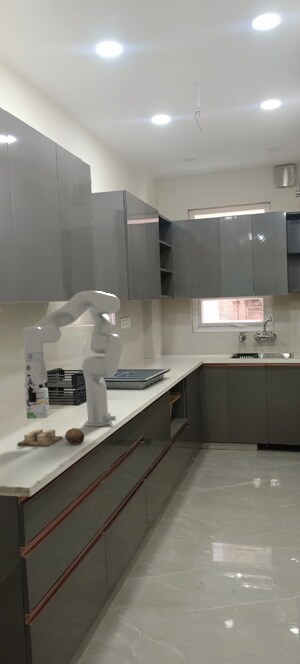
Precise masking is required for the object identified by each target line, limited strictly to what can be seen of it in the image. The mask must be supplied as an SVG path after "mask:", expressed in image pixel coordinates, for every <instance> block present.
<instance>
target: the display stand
mask: <svg viewBox="0 0 300 664" xmlns="http://www.w3.org/2000/svg"><path fill="white" fill-rule="evenodd" d="M23 437H24V439H22V440H20V441H18V442H17V446H19V447H20V446H22V447H43V448H44V447H47V448H48V447H50V446H52V445H54V444H56V443H57V442H59V441H61V440H63V436H60V435H59V436H58V435H56V430H55V429H49V430H46V431H44V432H43V429H42V428H40V429H35V430H33V431H30V432H29V433H26V434H24V435H23Z"/></svg>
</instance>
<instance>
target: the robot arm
mask: <svg viewBox="0 0 300 664" xmlns="http://www.w3.org/2000/svg"><path fill="white" fill-rule="evenodd" d="M120 308H121V301H120V299H119V298H118V296H116V295H114V294H111V293H106V292H103V291H98V290H84V291H79V292H78V293H76V294H75V295H73V296H72V297H70V299H69V300H68V301H67V302H66V303H65V304H63V306H61V307H59V309H56V310H54V311H53V312H51V313H49V314H47V315H46V316H44V317H42V318H41V319H39V321H37V322H36V323H35V324H34V325H32V326H28V327H24V328H23V329H22V330H23V331H22V333H23V336H22V337H23V346H24V347H23V349H24V363H25V364H24V379H25V382H24V387H25V388H26V389H25V390H27V392H28V395H29V402H36V392H35V388H46V385H47V382H48V373H47V370H48V369H47V365H46V361H45V357H44V356H45V355H44V344H53V343H57V342H58V341H59V340H60V339H61V337H62V332H61V329H60V328H62V327H66V326H70V325H72V324H74V323H75V322H76V321H77V320H78V319H79V318H80V317H82V315H84V313H86V311H88V312H89V313H90V315H91V316H92V318H93V323H94V324H93V330H92V334H91V335H92V336H91V339H90V343H89V344H90V346H89V349H90V351H91V352H92V353H93V354H96V356H95V355H93V356H88V357H86V358H85V359H84V360H83V361H82V366H81V368H82V369H81V370H82V374H83V379H84V383H85V394H86V396H85V397H86V409H87V410H86V411H87V412H86V413H87V420H86V421H85V422H84V426H86V427H91V428H92V427H93V428H95V427H96V428H97V427H104V426H108V425H111V424H112V422H113V421H114V422H116V421H117V417H116V415H111V412H109V408H108V407H109V405H108V394H107V393H108V391H107V383H106V380H105V379H104V378H113V377H114V376H115V375H117V372H118V369H119V365H120V361H121V355H122V350H123V342H122V339H121V337H120V336H119V335H118V334H115V333H112V329H113V323H112V320H111V318H110V316H109V315H113V314H116V313H117V312H118V311H119V310H120ZM101 355H104V356H101Z"/></svg>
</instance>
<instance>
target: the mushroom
mask: <svg viewBox="0 0 300 664" xmlns="http://www.w3.org/2000/svg"><path fill="white" fill-rule="evenodd" d="M64 437H65V440H66V441H67V442H68V443H70V444H72V445H79V444H82V443H83V442H84V441H85V435H84V432H83V431H82V430H81V429H79V428H76V427H73V428H70V429H68V430H67V431H66V432H65V435H64Z"/></svg>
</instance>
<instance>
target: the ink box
mask: <svg viewBox="0 0 300 664" xmlns="http://www.w3.org/2000/svg"><path fill="white" fill-rule="evenodd" d="M35 392H36V402H29V395H28V392H27V389H25V392H24V393H25V409H26V419H27V420H28V419H45V418H46V419H47V418H49V416H51V415H50V402H49V400H50V399H49V388H48V387H45V388H38V387H35Z"/></svg>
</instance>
